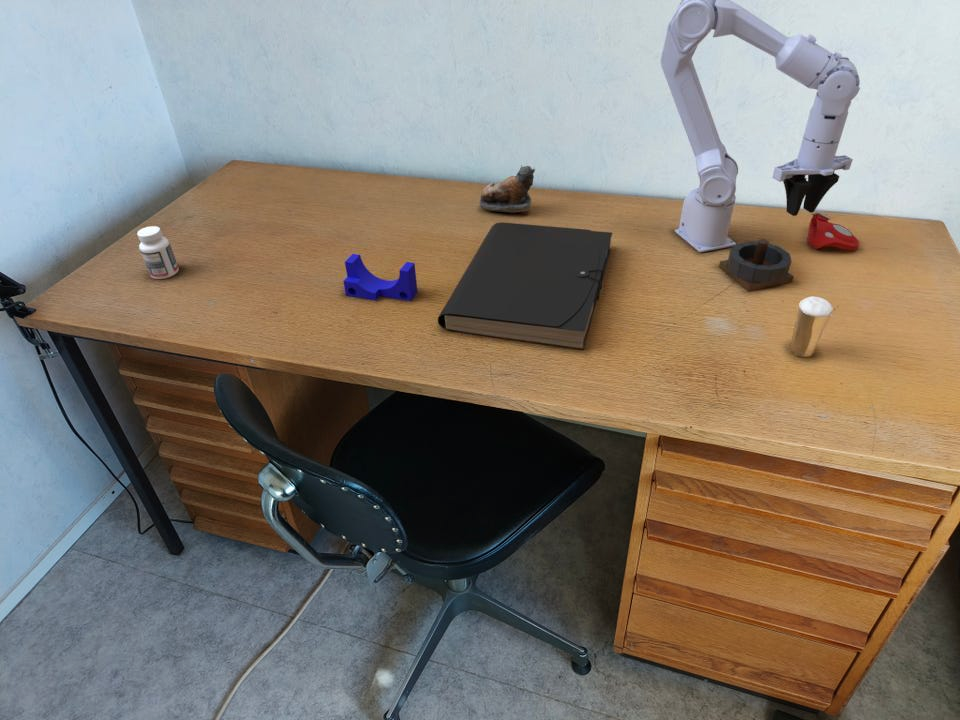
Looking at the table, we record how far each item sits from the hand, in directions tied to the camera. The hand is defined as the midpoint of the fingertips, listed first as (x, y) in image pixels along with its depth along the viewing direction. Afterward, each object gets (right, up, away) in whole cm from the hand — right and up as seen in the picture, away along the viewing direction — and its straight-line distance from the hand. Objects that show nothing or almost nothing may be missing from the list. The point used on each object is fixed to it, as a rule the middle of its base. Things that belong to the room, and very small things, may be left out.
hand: (799, 212), depth 120 cm
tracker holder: (+9, -4, +8) cm, 13 cm away
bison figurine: (-52, +5, +23) cm, 57 cm away
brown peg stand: (-9, -12, -1) cm, 14 cm away
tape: (-9, -11, -2) cm, 14 cm away
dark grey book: (-49, -14, -2) cm, 51 cm away
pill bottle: (-119, -10, +6) cm, 119 cm away
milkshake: (-9, -26, -19) cm, 33 cm away
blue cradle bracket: (-76, -15, -2) cm, 77 cm away
